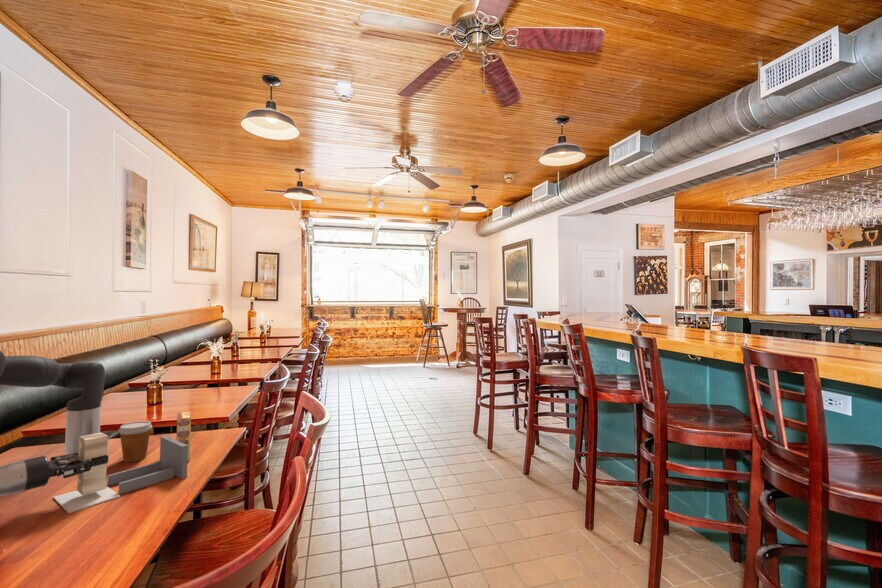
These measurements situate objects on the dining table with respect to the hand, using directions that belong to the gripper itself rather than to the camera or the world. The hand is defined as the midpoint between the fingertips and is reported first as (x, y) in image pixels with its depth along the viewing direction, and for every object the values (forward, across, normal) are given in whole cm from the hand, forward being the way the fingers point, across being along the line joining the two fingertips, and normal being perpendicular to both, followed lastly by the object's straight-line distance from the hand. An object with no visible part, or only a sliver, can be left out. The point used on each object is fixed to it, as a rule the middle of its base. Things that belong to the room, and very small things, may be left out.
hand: (104, 456), depth 117 cm
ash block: (-3, 0, +8) cm, 9 cm away
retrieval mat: (-4, 0, +10) cm, 11 cm away
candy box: (+26, +10, +10) cm, 29 cm away
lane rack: (+11, 0, +10) cm, 15 cm away
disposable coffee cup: (+16, +23, +10) cm, 30 cm away
